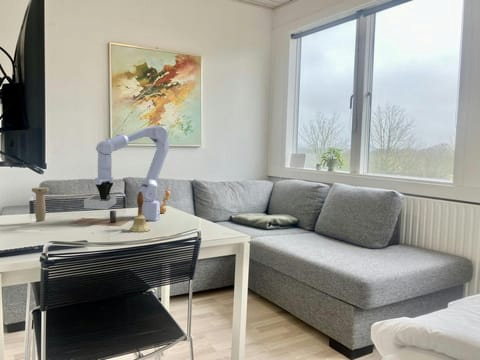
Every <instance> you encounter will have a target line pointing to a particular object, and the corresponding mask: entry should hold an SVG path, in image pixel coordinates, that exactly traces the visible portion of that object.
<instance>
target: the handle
mask: <svg viewBox="0 0 480 360" xmlns="http://www.w3.org/2000/svg"><path fill="white" fill-rule="evenodd" d="M49 191H50V188H49V187H42V186H41V187H31V192H32V193H35V208H34V209H35V211H34V214H35V219H36V222H39V223H41V222H45V220H46V213H47V212H46V211H47V210H46V195H45V194H46V193H48V192H49Z"/></svg>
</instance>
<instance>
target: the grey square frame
mask: <svg viewBox="0 0 480 360" xmlns="http://www.w3.org/2000/svg"><path fill="white" fill-rule="evenodd" d="M115 204H117V195H116V194H115V195H113V194H109V195H107V198H106V200H101V198H100V194H97V193H96V194H93V195H90V196H88V197H87V198H84V200H83V207H84V209H91V210H92V209H94V210H95V209H97V210H108V209H110V208H111V207H112V206H114V205H115Z"/></svg>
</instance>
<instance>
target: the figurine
mask: <svg viewBox="0 0 480 360" xmlns="http://www.w3.org/2000/svg"><path fill="white" fill-rule="evenodd" d="M164 192H165V194H164V196H162V198H163V199H162V203H163V204H162V205H161V204H160V214H164V213H166V212H167V207H166V204H167V201H168V200H169V198H170V196H171V193H172V192H171V191H170V190H167V189H165V191H164Z"/></svg>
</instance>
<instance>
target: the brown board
mask: <svg viewBox="0 0 480 360" xmlns="http://www.w3.org/2000/svg"><path fill="white" fill-rule="evenodd" d="M130 221H131V219H130V220H129V219H117V210H109V218H108V219H107V218H94V217H93V218H91V217H81V218H79V219H76V220H74V221H71V222H69V223H68V224H70V225H72V224H73V225H88V226H105V227H108V226H109V227H121V226H123V225H125V224H126V223H129V222H130Z"/></svg>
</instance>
